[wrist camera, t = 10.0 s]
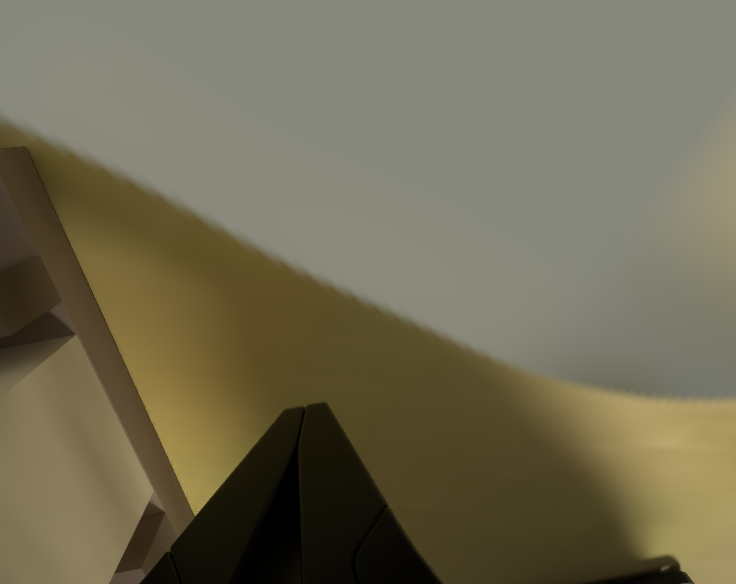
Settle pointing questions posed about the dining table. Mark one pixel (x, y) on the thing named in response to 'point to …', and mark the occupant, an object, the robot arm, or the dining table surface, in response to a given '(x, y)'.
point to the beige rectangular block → (63, 469)
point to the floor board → (82, 318)
